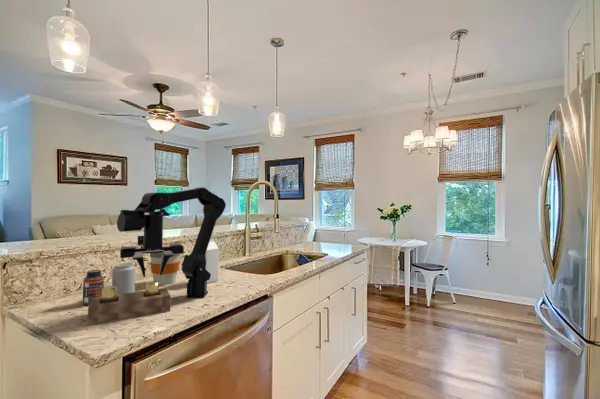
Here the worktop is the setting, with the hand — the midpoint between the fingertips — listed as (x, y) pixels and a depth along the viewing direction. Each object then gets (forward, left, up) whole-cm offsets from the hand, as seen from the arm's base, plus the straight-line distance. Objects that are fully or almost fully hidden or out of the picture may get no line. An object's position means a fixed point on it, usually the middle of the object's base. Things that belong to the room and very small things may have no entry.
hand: (152, 275), depth 96 cm
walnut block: (+5, +3, -11) cm, 13 cm away
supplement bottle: (+23, -6, -11) cm, 26 cm away
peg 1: (+10, +6, -7) cm, 14 cm away
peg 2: (0, 0, -7) cm, 7 cm away
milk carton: (-9, -34, -11) cm, 37 cm away
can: (+17, -14, -11) cm, 25 cm away
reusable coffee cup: (+9, -32, -11) cm, 35 cm away
